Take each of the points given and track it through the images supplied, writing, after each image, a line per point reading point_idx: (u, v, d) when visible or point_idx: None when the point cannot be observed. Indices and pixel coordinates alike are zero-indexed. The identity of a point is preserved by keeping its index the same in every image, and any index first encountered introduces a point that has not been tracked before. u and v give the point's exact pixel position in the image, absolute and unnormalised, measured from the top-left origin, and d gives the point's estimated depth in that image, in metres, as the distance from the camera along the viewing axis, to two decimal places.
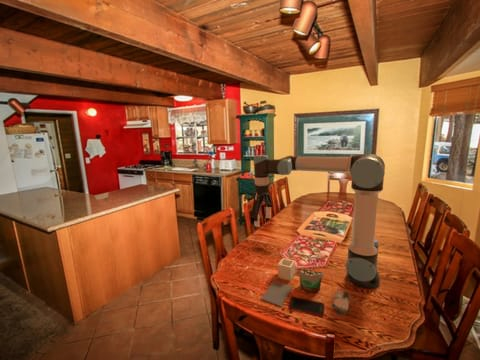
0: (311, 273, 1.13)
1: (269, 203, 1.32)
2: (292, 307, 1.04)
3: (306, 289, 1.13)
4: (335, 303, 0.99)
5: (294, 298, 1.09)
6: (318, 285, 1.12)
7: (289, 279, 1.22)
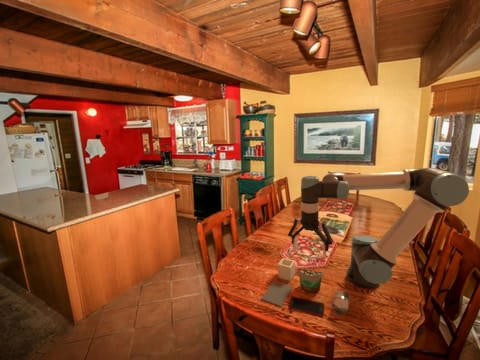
0: (311, 273, 1.13)
1: (322, 239, 1.05)
2: (292, 307, 1.04)
3: (306, 289, 1.13)
4: (335, 303, 0.99)
5: (294, 298, 1.09)
6: (318, 285, 1.12)
7: (289, 279, 1.22)
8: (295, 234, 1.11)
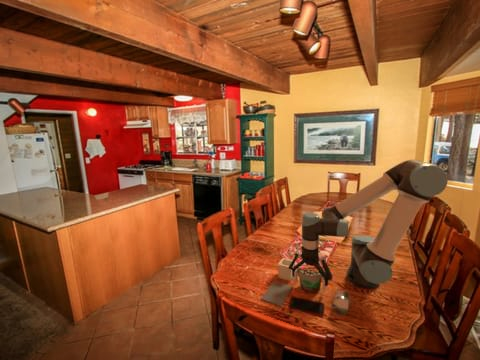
0: (311, 273, 1.13)
1: (322, 274, 1.08)
2: (292, 307, 1.04)
3: (306, 289, 1.13)
4: (335, 303, 0.99)
5: (294, 298, 1.09)
6: (318, 285, 1.12)
7: (289, 279, 1.22)
8: (295, 267, 1.14)
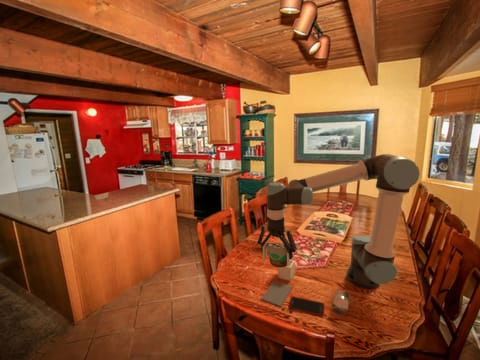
0: (279, 246, 1.09)
1: (286, 247, 1.04)
2: (292, 307, 1.04)
3: (274, 263, 1.09)
4: (335, 303, 0.99)
5: (294, 298, 1.09)
6: (286, 258, 1.08)
7: (289, 279, 1.22)
8: (263, 242, 1.10)
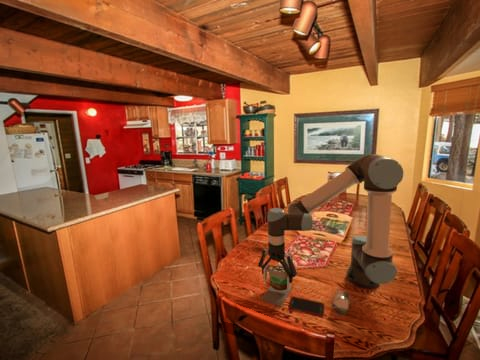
0: (279, 269, 1.11)
1: (287, 271, 1.07)
2: (292, 307, 1.04)
3: (274, 286, 1.11)
4: (335, 303, 0.99)
5: (294, 298, 1.09)
6: (286, 282, 1.10)
7: None
8: (264, 265, 1.13)
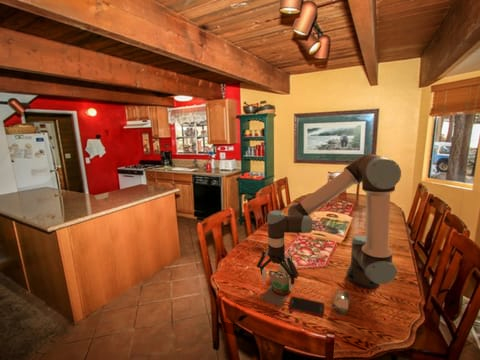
0: (281, 275, 1.11)
1: (288, 273, 1.07)
2: (292, 307, 1.04)
3: (276, 291, 1.12)
4: (335, 303, 0.99)
5: (294, 298, 1.09)
6: (288, 287, 1.11)
7: None
8: (263, 266, 1.13)
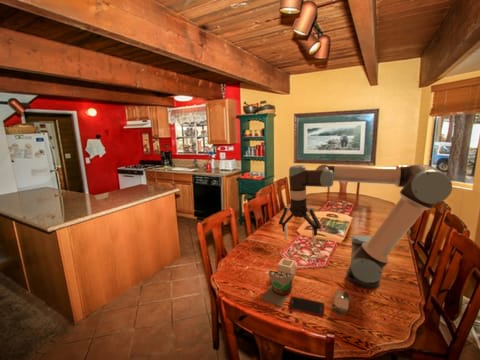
0: (281, 275, 1.11)
1: (311, 224, 1.11)
2: (292, 307, 1.04)
3: (276, 291, 1.12)
4: (335, 303, 0.99)
5: (294, 298, 1.09)
6: (288, 287, 1.11)
7: None
8: (285, 222, 1.17)
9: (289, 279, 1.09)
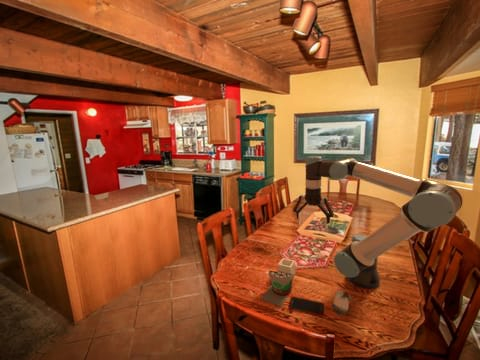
0: (281, 275, 1.12)
1: (324, 212, 1.17)
2: (292, 307, 1.04)
3: (276, 291, 1.12)
4: (335, 303, 0.99)
5: (294, 298, 1.09)
6: (288, 287, 1.11)
7: None
8: (299, 209, 1.23)
9: (289, 279, 1.09)
